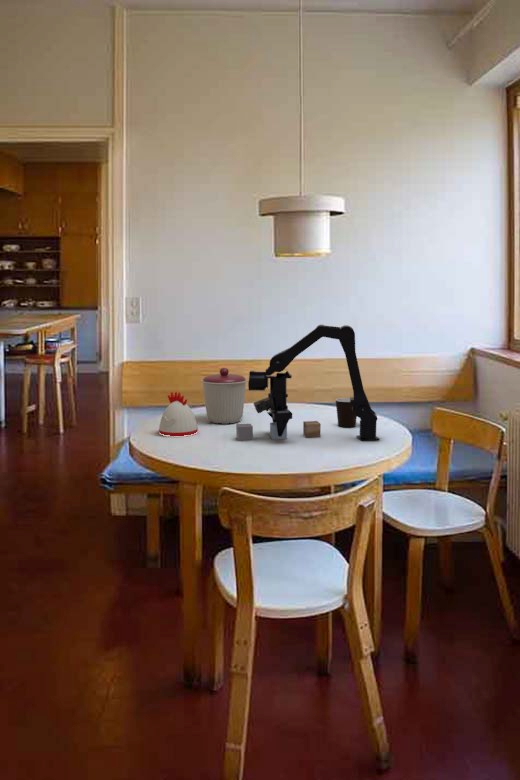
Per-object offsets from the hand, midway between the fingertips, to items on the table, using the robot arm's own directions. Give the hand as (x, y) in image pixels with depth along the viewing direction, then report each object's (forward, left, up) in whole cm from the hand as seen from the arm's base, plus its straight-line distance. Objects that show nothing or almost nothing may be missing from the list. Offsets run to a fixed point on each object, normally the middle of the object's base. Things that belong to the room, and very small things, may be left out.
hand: (278, 434), depth 258 cm
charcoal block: (0, +12, -1) cm, 12 cm away
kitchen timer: (+15, +34, -1) cm, 37 cm away
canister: (+32, +15, -1) cm, 35 cm away
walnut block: (0, -12, -1) cm, 12 cm away
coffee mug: (+15, -30, -1) cm, 34 cm away
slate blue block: (0, 0, -1) cm, 1 cm away
